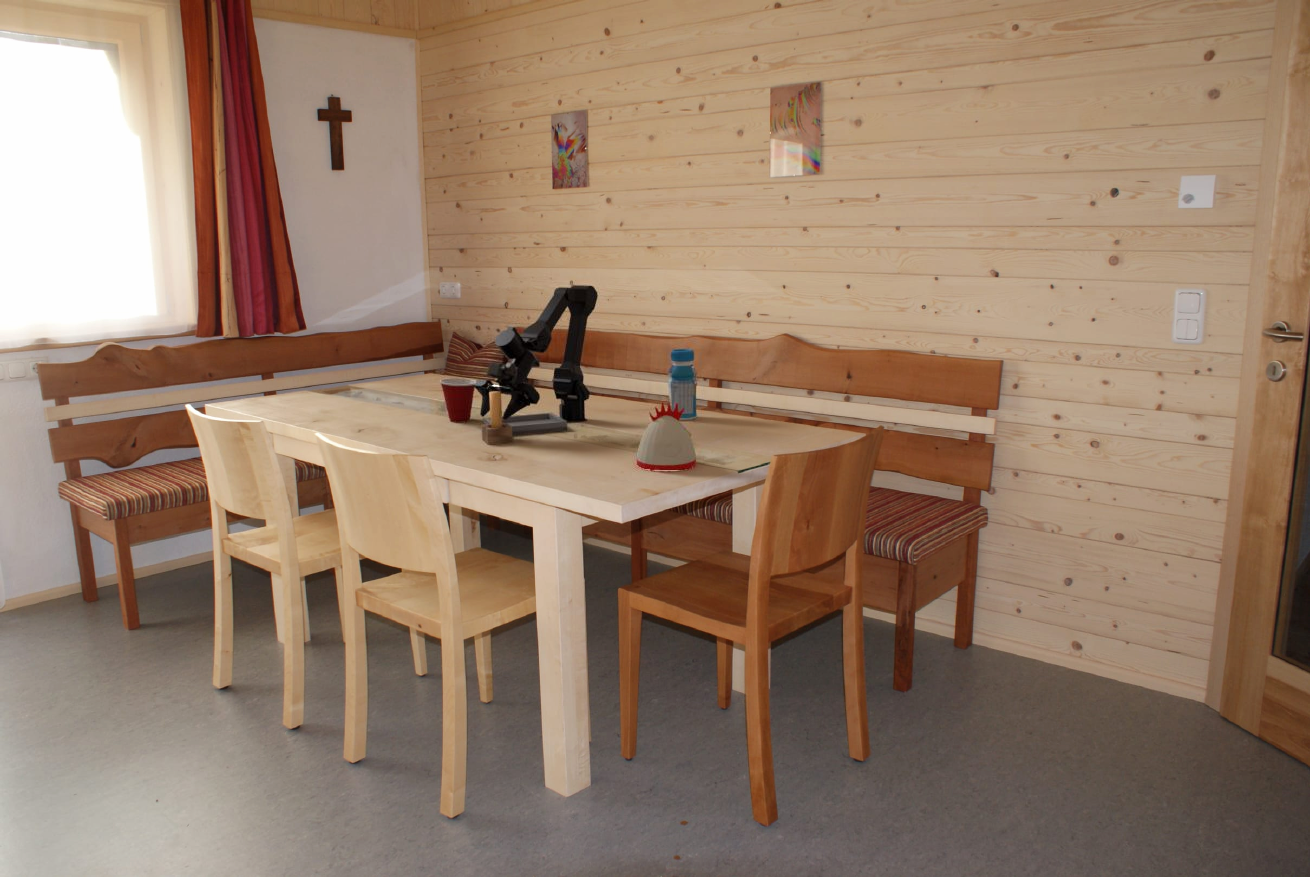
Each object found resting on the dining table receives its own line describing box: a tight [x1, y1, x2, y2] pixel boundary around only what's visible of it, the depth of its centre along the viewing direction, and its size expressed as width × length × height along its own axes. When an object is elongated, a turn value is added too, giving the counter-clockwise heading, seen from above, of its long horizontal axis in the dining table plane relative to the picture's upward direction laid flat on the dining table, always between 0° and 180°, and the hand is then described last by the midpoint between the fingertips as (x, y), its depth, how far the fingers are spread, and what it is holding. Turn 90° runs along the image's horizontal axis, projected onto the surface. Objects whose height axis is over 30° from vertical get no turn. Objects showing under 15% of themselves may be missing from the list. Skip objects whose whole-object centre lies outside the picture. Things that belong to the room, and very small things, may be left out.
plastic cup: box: [439, 377, 477, 423], centre depth 284 cm, size 11×11×12 cm
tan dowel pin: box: [489, 391, 503, 428], centre depth 255 cm, size 3×3×13 cm
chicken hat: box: [636, 401, 697, 471], centre depth 227 cm, size 14×14×15 cm
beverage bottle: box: [667, 348, 698, 421], centre depth 283 cm, size 8×8×20 cm
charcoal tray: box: [482, 412, 568, 436], centre depth 272 cm, size 20×15×2 cm
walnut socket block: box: [481, 423, 514, 445], centre depth 256 cm, size 7×7×4 cm
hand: (492, 417), depth 254 cm, fingers open, 7 cm apart
